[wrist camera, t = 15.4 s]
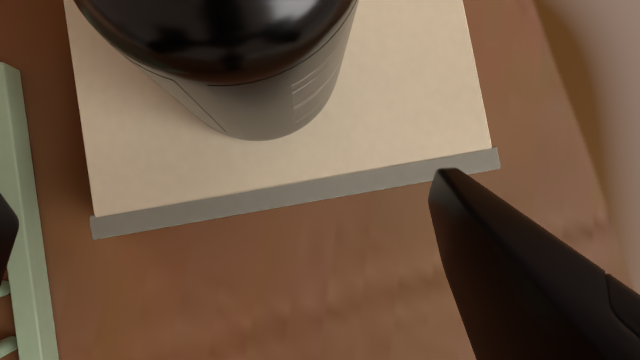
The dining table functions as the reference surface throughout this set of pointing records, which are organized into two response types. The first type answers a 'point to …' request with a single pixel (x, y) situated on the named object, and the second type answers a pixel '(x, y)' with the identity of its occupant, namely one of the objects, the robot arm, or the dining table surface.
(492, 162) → the cream bevelled block
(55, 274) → the dining table surface
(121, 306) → the dining table surface
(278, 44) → the supplement bottle
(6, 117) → the dish rack
